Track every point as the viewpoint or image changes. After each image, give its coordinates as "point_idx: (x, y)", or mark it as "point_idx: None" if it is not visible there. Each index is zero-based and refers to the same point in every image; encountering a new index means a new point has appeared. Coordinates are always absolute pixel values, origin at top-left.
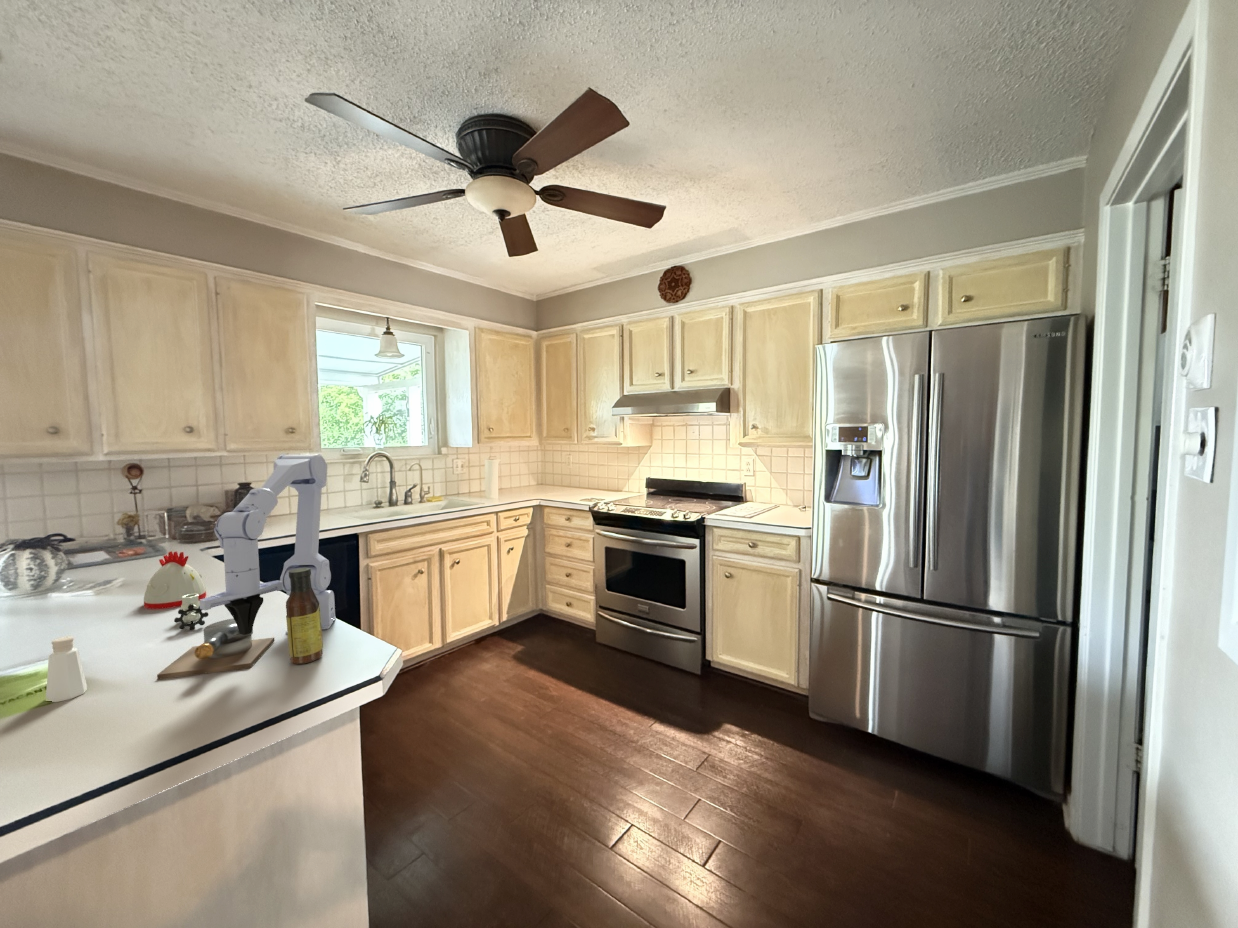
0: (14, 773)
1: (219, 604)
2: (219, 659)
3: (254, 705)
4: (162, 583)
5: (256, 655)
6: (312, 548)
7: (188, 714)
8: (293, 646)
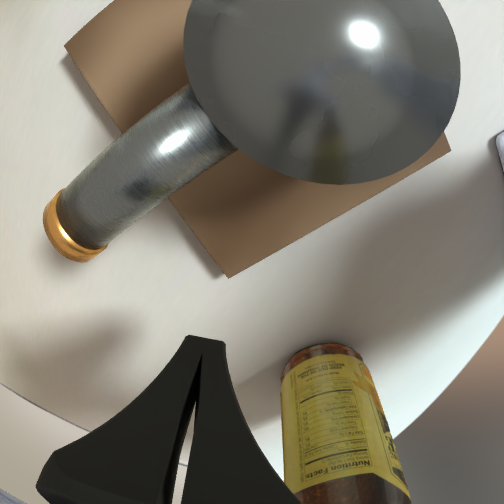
0: None
1: (3, 499)
2: None
3: (117, 410)
4: None
5: (289, 239)
6: None
7: (39, 334)
8: (281, 417)
